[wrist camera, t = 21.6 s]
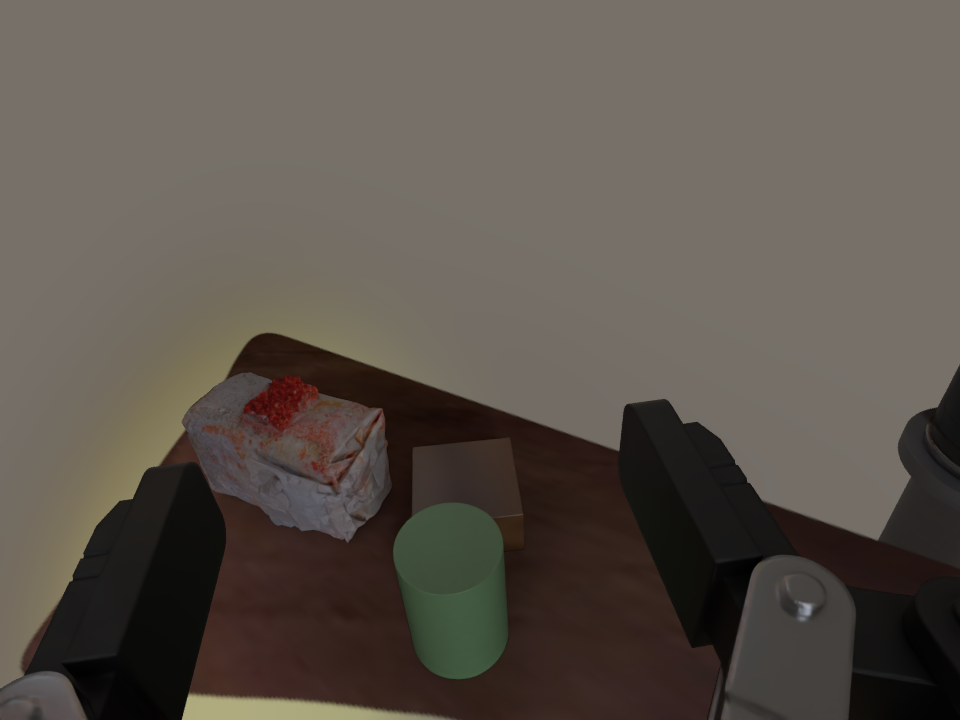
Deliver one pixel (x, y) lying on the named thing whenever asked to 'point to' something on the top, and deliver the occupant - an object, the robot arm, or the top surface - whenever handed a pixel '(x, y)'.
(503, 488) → the walnut block
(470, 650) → the green tin
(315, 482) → the food item
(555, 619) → the top surface
